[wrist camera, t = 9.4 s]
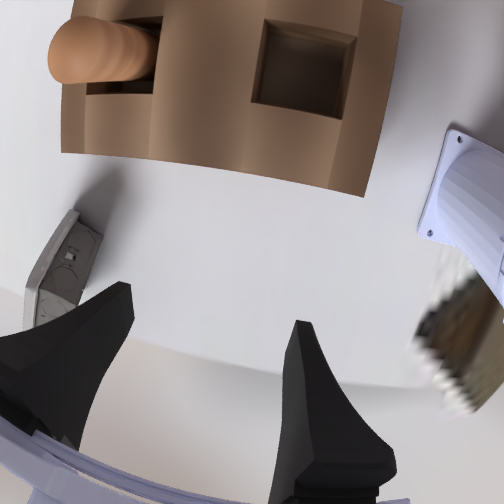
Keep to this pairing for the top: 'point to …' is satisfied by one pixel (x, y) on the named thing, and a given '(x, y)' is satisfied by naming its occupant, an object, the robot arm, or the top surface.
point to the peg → (101, 52)
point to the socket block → (246, 88)
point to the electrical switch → (60, 272)
